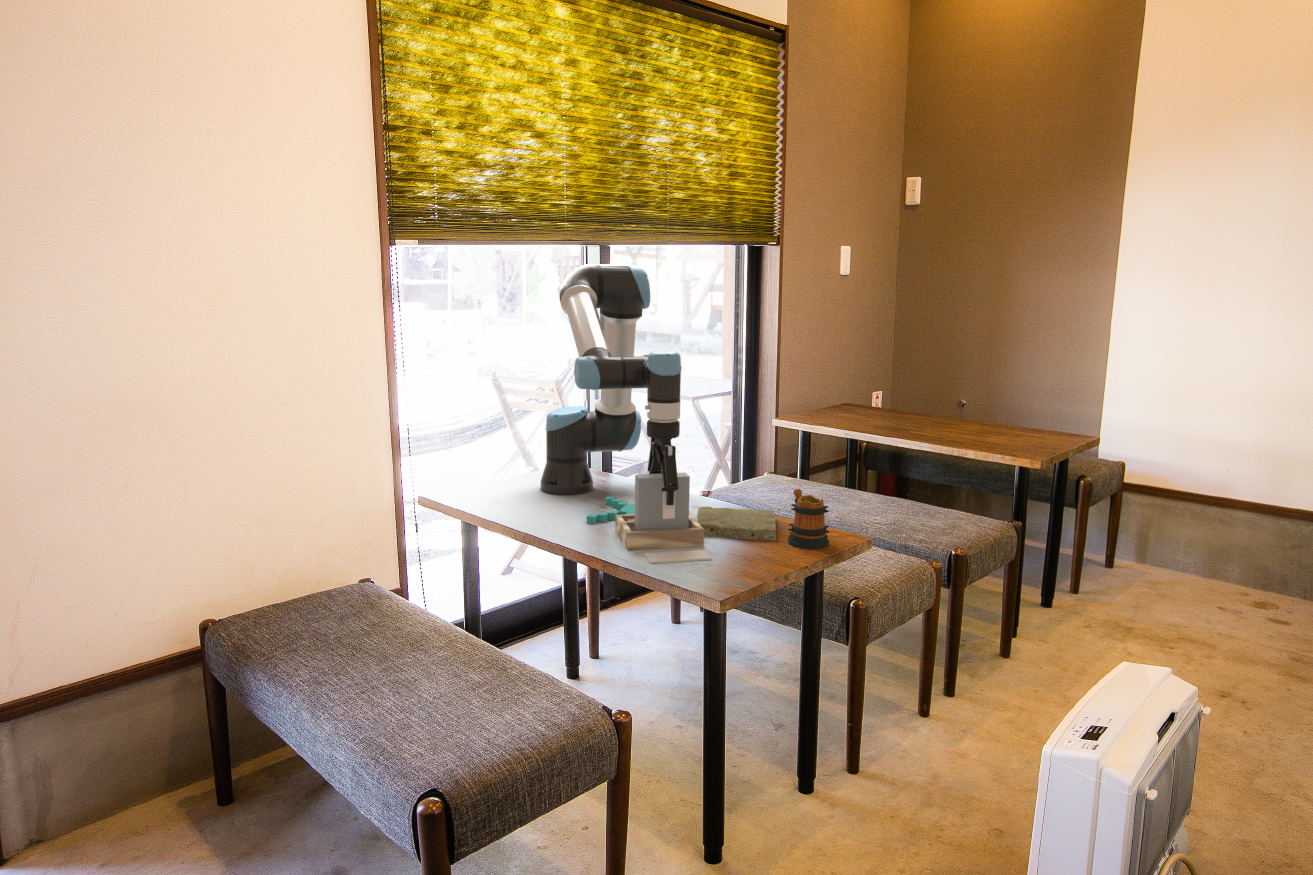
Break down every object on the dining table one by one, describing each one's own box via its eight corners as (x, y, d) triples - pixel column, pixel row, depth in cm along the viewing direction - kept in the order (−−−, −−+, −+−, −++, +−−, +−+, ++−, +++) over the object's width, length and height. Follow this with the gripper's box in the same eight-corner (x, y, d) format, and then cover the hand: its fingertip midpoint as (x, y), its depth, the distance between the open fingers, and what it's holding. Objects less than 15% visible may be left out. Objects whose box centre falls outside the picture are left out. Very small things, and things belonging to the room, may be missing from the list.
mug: (837, 548, 203) (840, 499, 201) (797, 551, 201) (800, 502, 198) (812, 531, 216) (815, 486, 213) (774, 534, 213) (776, 488, 211)
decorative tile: (697, 517, 228) (697, 504, 227) (775, 520, 226) (775, 507, 225) (692, 539, 210) (693, 525, 209) (777, 543, 208) (778, 528, 207)
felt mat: (644, 554, 196) (644, 553, 196) (704, 551, 200) (704, 549, 199) (650, 563, 191) (650, 561, 190) (712, 559, 194) (712, 558, 194)
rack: (615, 530, 214) (615, 514, 213) (686, 526, 218) (686, 511, 217) (627, 550, 199) (627, 533, 199) (703, 545, 204) (704, 528, 203)
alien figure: (586, 524, 220) (664, 530, 216) (586, 516, 220) (664, 522, 215) (607, 504, 239) (679, 509, 235) (607, 496, 239) (679, 501, 235)
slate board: (634, 540, 206) (635, 474, 203) (683, 537, 209) (685, 472, 206) (638, 545, 203) (638, 478, 200) (688, 542, 205) (689, 476, 202)
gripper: (636, 411, 211) (635, 497, 215) (659, 429, 188) (658, 526, 192) (666, 410, 213) (664, 496, 217) (693, 428, 190) (691, 524, 194)
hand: (661, 510), depth 204 cm, fingers open, 12 cm apart
